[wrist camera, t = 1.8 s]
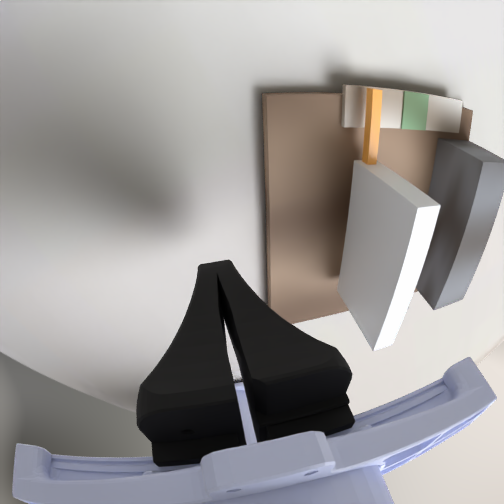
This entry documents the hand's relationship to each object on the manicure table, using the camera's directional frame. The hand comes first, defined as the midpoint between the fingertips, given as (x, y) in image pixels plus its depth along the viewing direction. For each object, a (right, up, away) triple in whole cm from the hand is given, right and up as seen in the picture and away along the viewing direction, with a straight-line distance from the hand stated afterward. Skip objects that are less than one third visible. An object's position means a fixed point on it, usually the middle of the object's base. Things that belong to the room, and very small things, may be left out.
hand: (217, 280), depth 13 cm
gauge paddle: (+7, +4, +2) cm, 8 cm away
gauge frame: (+8, +3, +4) cm, 10 cm away
